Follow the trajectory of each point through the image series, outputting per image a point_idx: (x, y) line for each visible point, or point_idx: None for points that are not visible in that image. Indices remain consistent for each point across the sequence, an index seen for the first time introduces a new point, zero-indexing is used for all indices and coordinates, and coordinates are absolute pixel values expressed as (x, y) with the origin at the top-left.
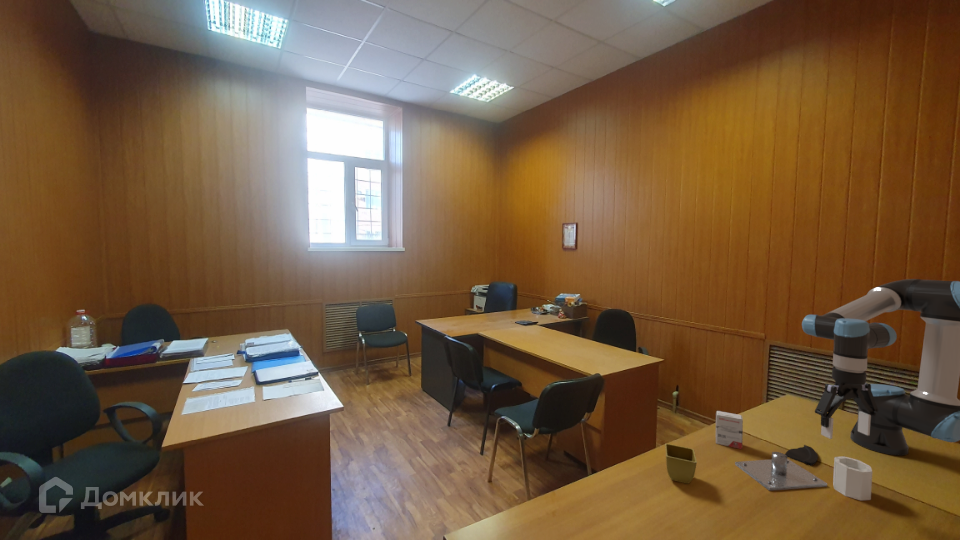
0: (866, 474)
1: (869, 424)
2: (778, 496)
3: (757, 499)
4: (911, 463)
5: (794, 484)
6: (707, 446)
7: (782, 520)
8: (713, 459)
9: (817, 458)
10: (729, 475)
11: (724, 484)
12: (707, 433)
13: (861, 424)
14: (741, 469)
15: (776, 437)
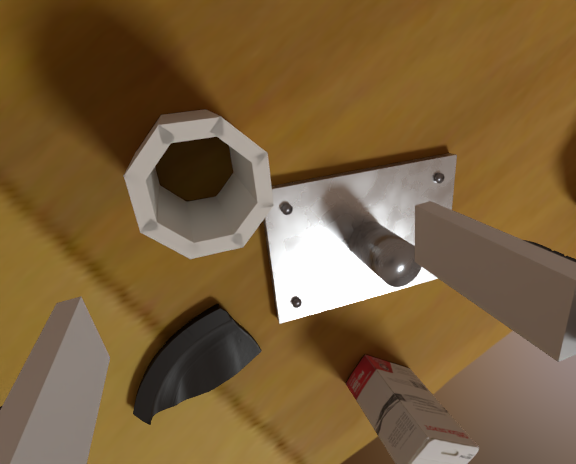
0: (192, 119)
1: (29, 376)
2: (446, 126)
3: (508, 110)
4: None
5: (374, 175)
6: (441, 348)
7: (523, 13)
8: None
9: (169, 343)
10: (489, 218)
11: (530, 175)
12: None
13: (83, 396)
14: None
15: (203, 451)
